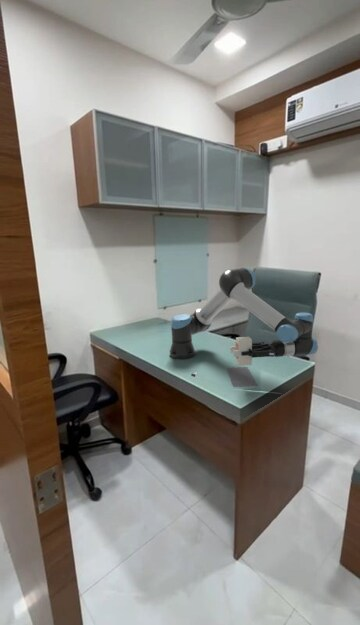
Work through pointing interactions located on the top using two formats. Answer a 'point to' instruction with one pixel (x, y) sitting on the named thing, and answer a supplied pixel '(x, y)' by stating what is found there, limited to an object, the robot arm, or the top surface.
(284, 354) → the robot arm
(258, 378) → the top surface
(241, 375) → the mat
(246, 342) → the card box
